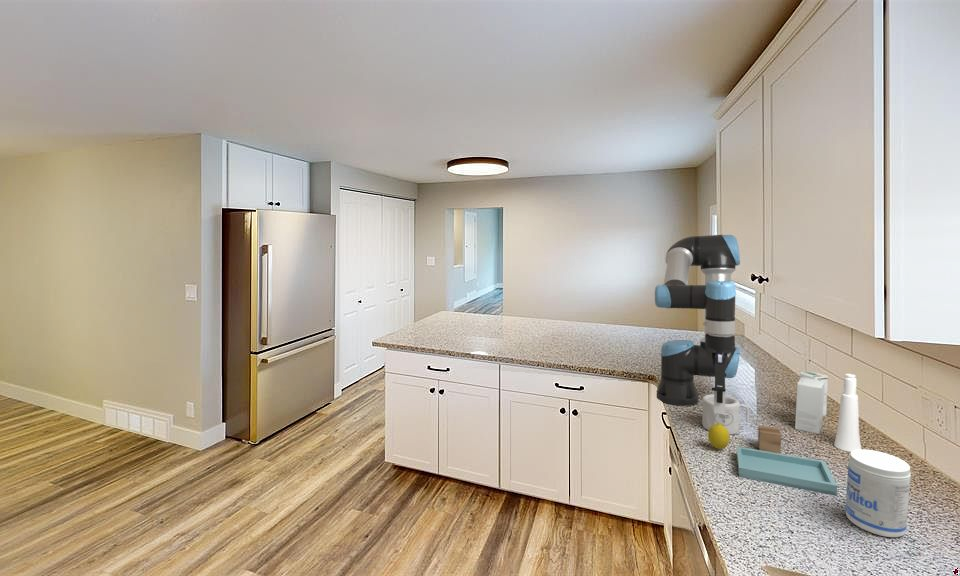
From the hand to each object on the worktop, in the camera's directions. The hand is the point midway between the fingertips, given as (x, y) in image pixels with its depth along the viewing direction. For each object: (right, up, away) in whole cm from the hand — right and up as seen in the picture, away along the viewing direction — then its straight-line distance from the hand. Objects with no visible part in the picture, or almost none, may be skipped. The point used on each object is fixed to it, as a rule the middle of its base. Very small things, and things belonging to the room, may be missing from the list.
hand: (719, 405), depth 123 cm
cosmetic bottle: (+37, -13, -1) cm, 39 cm away
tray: (+9, -15, -13) cm, 21 cm away
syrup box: (+46, -10, +24) cm, 53 cm away
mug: (+11, -12, +15) cm, 22 cm away
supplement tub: (+14, -16, -34) cm, 40 cm away
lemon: (+1, -14, +1) cm, 14 cm away
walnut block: (+15, -13, 0) cm, 20 cm away
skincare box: (+37, -11, +13) cm, 41 cm away
